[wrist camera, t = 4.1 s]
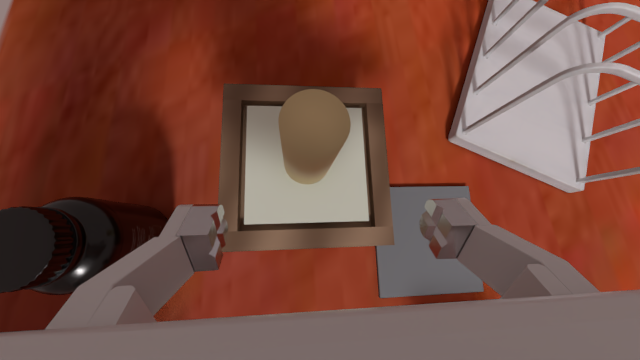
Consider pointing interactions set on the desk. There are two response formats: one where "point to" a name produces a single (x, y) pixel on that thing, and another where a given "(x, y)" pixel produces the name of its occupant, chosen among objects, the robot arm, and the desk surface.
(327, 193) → the lid
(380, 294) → the mat
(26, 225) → the supplement bottle
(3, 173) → the desk surface
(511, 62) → the file sorter
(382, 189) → the box
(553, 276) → the robot arm
